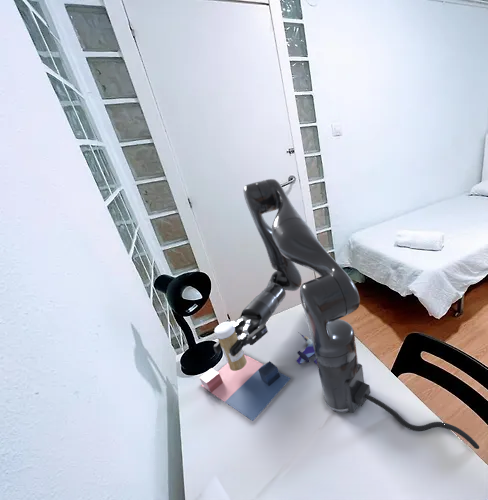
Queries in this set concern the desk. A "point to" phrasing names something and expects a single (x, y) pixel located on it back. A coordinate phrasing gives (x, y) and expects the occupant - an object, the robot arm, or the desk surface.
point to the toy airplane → (306, 351)
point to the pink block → (211, 380)
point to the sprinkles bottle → (230, 345)
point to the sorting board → (247, 388)
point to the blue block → (269, 373)
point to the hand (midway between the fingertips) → (223, 351)
